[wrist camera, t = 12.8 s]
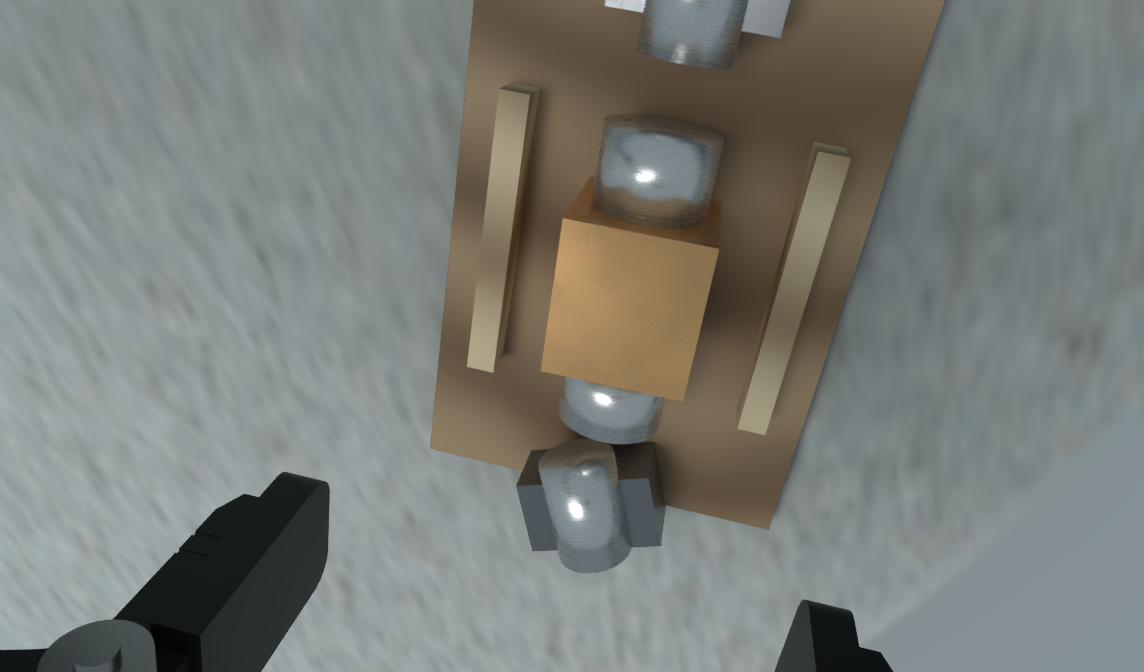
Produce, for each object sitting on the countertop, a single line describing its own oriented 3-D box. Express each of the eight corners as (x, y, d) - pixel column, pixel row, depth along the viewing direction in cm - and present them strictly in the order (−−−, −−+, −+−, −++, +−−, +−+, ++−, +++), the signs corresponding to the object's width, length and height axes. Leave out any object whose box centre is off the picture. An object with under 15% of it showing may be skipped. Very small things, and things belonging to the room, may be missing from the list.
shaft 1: (531, 416, 33) (500, 485, 29) (653, 406, 32) (640, 476, 28) (550, 498, 35) (524, 575, 30) (667, 491, 34) (657, 570, 29)
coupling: (602, 102, 27) (575, 130, 22) (739, 127, 26) (740, 161, 22) (559, 369, 31) (530, 437, 27) (677, 394, 31) (667, 468, 26)
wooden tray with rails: (492, -93, 26) (469, -98, 24) (941, -14, 25) (962, -12, 22) (438, 435, 35) (417, 468, 32) (767, 514, 33) (770, 554, 31)
